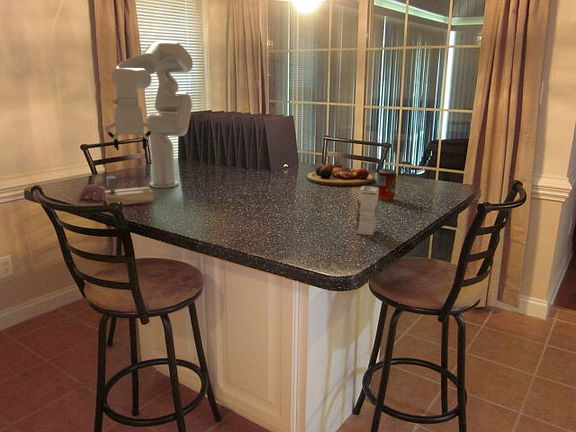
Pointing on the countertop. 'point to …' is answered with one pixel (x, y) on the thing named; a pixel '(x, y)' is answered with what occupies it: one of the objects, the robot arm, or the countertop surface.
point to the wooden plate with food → (339, 175)
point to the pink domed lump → (90, 191)
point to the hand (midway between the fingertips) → (131, 149)
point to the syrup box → (367, 210)
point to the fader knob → (111, 183)
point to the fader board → (130, 195)
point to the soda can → (386, 184)
